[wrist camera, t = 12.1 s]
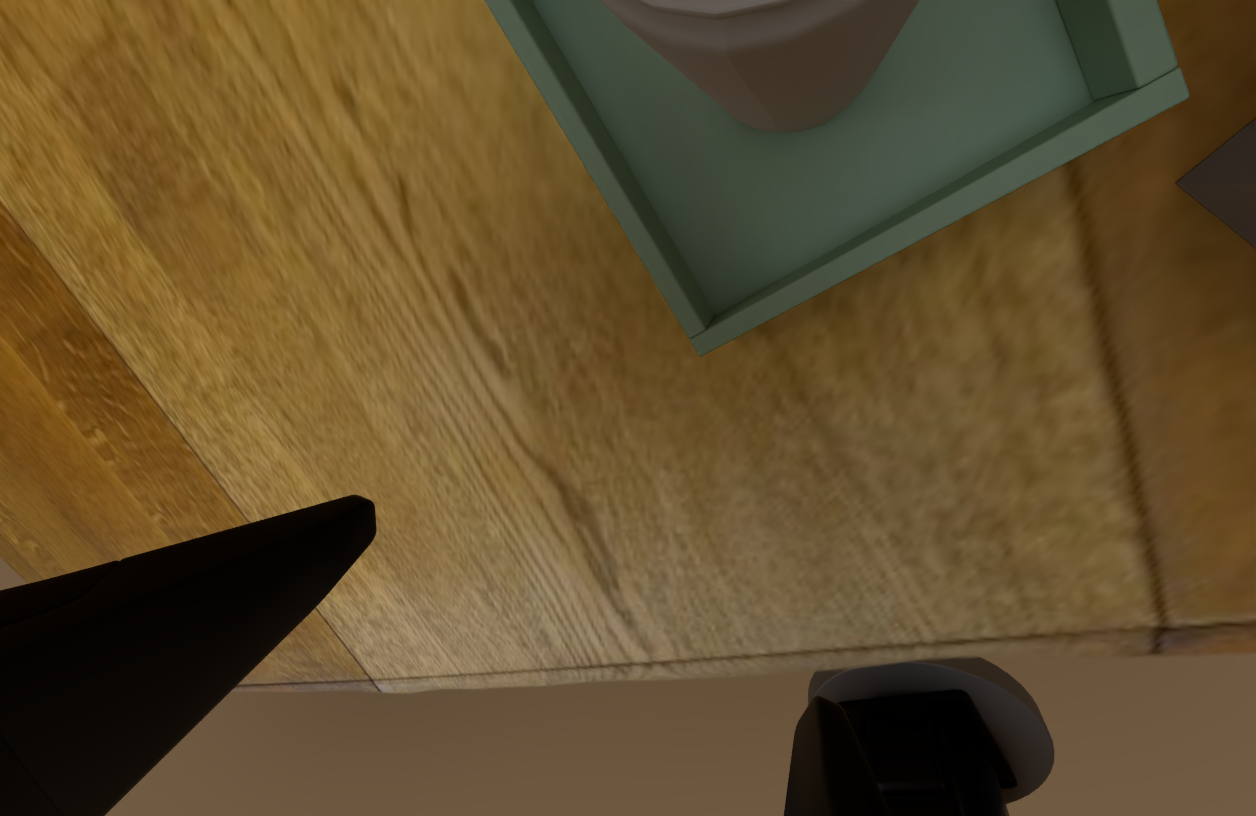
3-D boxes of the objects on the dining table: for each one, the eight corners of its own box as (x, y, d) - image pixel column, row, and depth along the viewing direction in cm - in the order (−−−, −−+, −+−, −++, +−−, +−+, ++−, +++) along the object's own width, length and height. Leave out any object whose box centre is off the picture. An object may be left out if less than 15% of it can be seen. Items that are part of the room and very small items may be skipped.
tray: (1124, 111, 13) (1191, 96, 10) (712, 336, 18) (699, 357, 16) (902, -492, 10) (930, -684, 8) (508, -7, 16) (460, -38, 14)
